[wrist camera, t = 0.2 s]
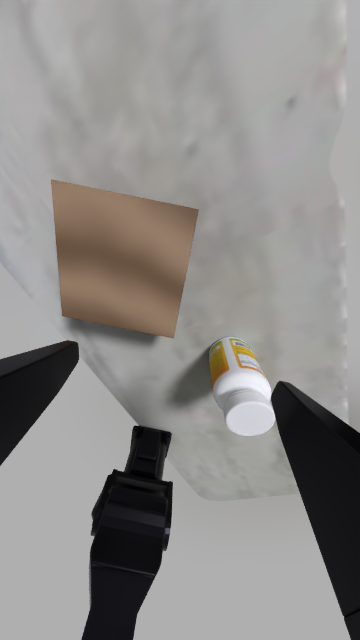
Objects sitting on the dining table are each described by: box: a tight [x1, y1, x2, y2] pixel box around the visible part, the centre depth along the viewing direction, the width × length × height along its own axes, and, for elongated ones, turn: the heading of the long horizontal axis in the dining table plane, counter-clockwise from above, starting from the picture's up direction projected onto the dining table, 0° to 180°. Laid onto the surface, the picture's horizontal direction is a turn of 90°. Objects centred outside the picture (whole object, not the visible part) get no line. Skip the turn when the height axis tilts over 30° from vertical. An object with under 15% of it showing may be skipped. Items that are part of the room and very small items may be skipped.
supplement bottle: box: [209, 337, 275, 436], centre depth 19 cm, size 5×5×10 cm
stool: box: [51, 180, 199, 338], centre depth 18 cm, size 11×11×5 cm
